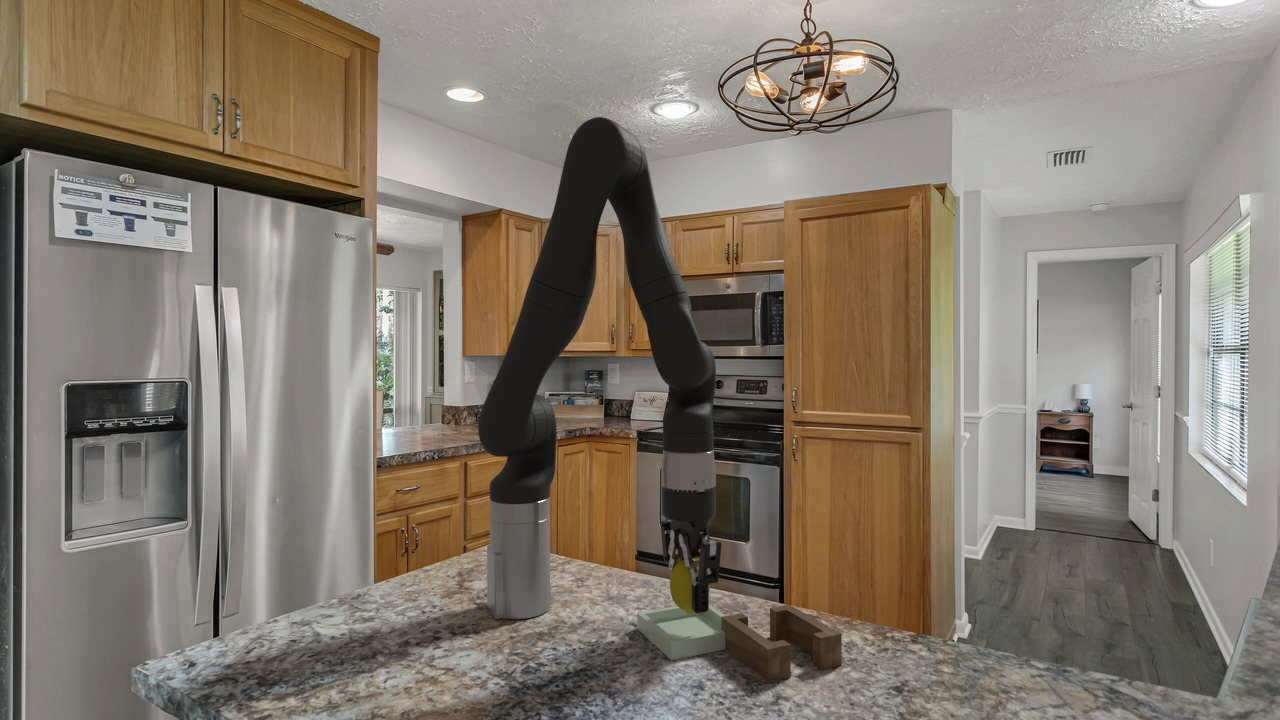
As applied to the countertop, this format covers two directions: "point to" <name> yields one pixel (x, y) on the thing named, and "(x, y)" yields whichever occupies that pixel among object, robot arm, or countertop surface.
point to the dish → (683, 631)
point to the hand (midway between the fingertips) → (689, 603)
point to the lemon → (682, 586)
